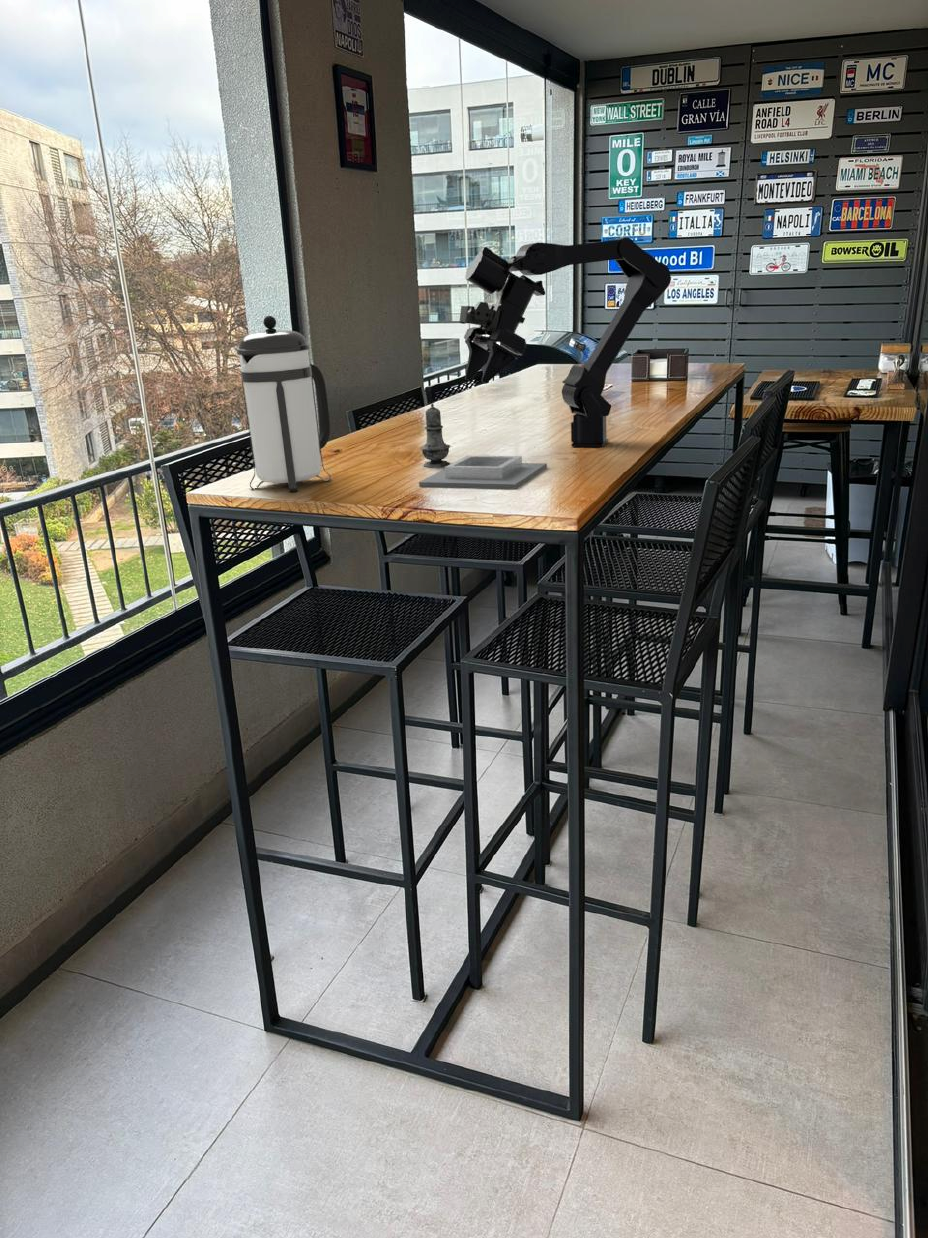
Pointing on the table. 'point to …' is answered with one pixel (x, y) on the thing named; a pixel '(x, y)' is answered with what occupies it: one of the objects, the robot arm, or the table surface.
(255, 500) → the table surface
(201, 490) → the table surface
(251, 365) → the coffee press
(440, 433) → the salt shaker
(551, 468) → the table surface
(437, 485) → the socket board
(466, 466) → the socket collar
